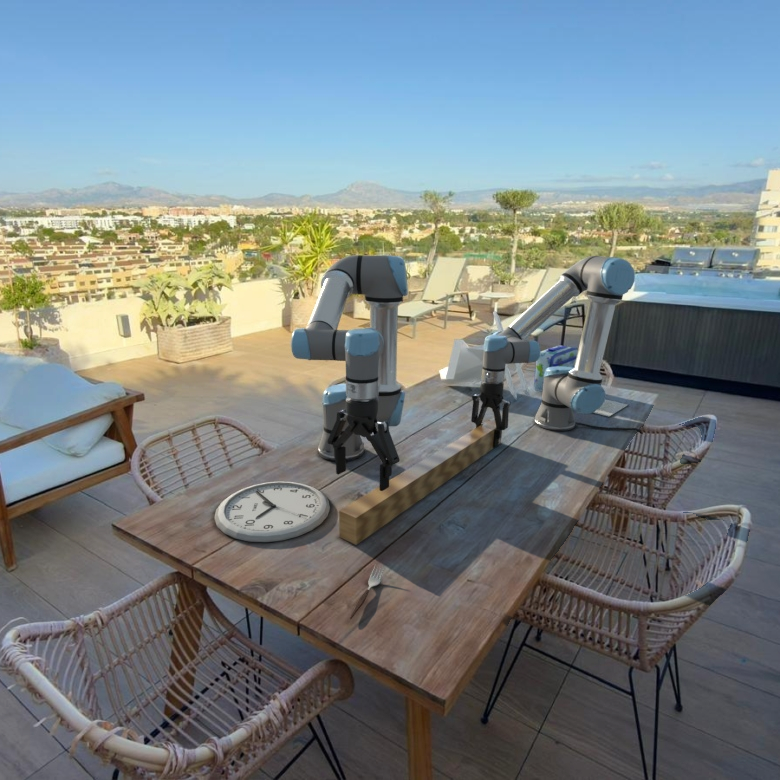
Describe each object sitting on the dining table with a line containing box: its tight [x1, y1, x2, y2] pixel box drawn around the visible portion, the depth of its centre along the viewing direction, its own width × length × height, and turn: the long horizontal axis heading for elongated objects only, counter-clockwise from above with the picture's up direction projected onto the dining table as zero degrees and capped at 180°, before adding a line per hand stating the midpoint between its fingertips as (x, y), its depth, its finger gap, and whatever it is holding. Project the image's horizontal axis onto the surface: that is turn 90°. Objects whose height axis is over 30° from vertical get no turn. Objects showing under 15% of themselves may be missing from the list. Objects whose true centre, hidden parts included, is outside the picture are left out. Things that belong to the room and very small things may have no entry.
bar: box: [338, 419, 503, 546], centre depth 156 cm, size 80×5×7 cm, turn 143°
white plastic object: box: [438, 310, 531, 400], centre depth 245 cm, size 37×45×31 cm
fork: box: [349, 563, 386, 620], centre depth 108 cm, size 3×16×2 cm, turn 160°
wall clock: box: [213, 481, 331, 543], centre depth 139 cm, size 30×2×30 cm
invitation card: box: [592, 398, 629, 418], centre depth 226 cm, size 21×1×15 cm
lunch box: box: [533, 345, 579, 393], centre depth 245 cm, size 26×11×21 cm, turn 135°
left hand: (362, 480), depth 127 cm, fingers open, 13 cm apart
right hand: (487, 444), depth 184 cm, fingers closed on bar, 5 cm apart
